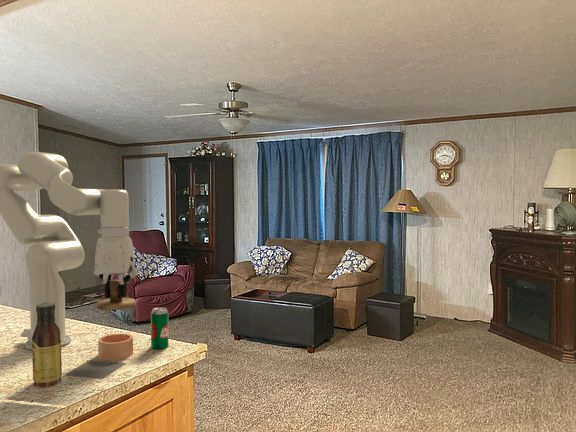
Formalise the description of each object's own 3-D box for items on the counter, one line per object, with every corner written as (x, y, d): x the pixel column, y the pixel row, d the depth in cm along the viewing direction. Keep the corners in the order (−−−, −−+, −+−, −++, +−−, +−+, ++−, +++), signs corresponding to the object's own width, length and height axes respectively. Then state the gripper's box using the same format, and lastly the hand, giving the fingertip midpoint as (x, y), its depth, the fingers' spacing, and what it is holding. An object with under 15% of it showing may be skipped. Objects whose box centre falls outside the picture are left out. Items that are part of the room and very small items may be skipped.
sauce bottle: (40, 379, 116) (38, 300, 115) (66, 379, 117) (64, 300, 116) (27, 390, 110) (26, 307, 109) (55, 389, 110) (54, 306, 109)
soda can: (163, 351, 137) (163, 311, 137) (147, 350, 138) (147, 310, 138) (171, 346, 142) (171, 307, 142) (156, 345, 143) (155, 306, 143)
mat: (63, 376, 118) (63, 374, 118) (90, 361, 129) (90, 359, 129) (102, 380, 116) (102, 378, 116) (126, 364, 127) (126, 363, 127)
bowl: (91, 360, 130) (91, 342, 130) (110, 349, 139) (110, 332, 139) (121, 363, 128) (121, 344, 128) (139, 352, 137) (138, 334, 137)
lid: (88, 309, 129) (88, 283, 128) (110, 300, 139) (109, 276, 138) (122, 311, 126) (122, 284, 126) (142, 302, 137) (141, 278, 136)
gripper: (80, 233, 130) (81, 299, 130) (134, 234, 126) (135, 301, 127) (96, 231, 137) (97, 293, 138) (148, 232, 134) (149, 296, 135)
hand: (116, 296), depth 133 cm, fingers closed on lid, 3 cm apart
